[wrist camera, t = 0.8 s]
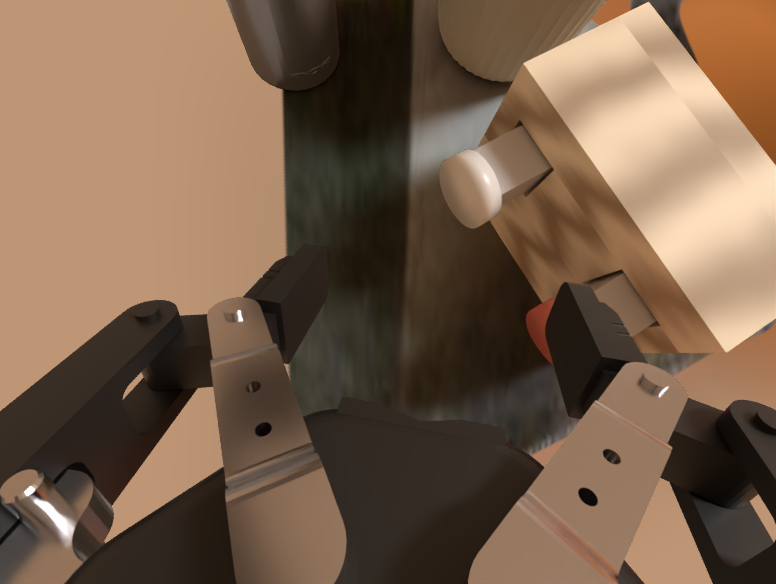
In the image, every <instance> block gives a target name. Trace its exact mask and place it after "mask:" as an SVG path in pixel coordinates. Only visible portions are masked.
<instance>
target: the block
mask: <svg viewBox="0 0 776 584" xmlns="http://www.w3.org/2000/svg"><path fill="white" fill-rule="evenodd" d="M521 125H524V126H525V128H526V129H527V131H528V132H529V134H530V135H531V137H532V138H533V140H534V141H535V143H536V144H537V145H538V147H539V148H540V150H541V151H542V153H543V154H544V156H545V157H546V159H547V160H548V162H549V163H550V165H551V166H552V167H553V169H554V171H553V172H551V173H550V174H549V175H548V176H547V177H546V178H545V179H544V180H543V181H542V182H541V183H540V184H539V185H538V186H536V187H535V188H533V189H531V190H529V191H527V192H526V193H524V194H522V195H520V196H518V197H517V198H515V199H513V200H511V201H509V202H507V203H506V204H504V205H502V206H501V210H500V212H499V214H498V215H497V216H496V217H495V218H493V219H491V220H490V222H491V224H492V225H493V227H494V228H495V230H496V232H497V233H498V235H499V236H500V238H501V239H502V241H503V242H504V244H505V246H506V247H507V249H508V250H509V252H510V253H511V255H512V256H513V258H514V260H515V261H516V263H517V264H518V266H519V267H520V269H521V270H522V272H523V274H524V275H525V277H526V278H527V280H528V281H529V283H530V284H531V286H532V288H533V289H534V291H535V292H536V294H537V295H538V297H539V298H540V300H541V302H542V303H543V302H545V301H546V300H548V299H550V298H556V296H557V293H558V291H559V289H560V286H561V285H562V284H563V283H564V282H570V283H577V284H584V285H588V284H589V283H591V282H593V281H594V280H596V279H598V278H599V277H601V276H603V275H606V274H609V273H612V272H615V271H618V270H621V269H622V270H623V271H624V273H625V274H626V276H627V277H628V279H629V280H630V282H631V283H632V285H633V286H634V288H635V289H636V291H637V292H638V293H639V295H640V296H641V298H642V299H643V301H644V302H645V304H646V305H647V307H648V308H649V310H650V311H651V312H652V314H653V315H654V317H655V318H656V320H657V321H656V322H654V323H653V324H651V325H650V326H648V327H647V328H645V329H644V330H642V331H641V332H639V333H638V334H636V335H634V336H633V337H632V338H633V340H634V342H635V343H636V345H637V347H638V348H639V350H640V352H641V353H726V352H728V351H730V350H731V349H732V348H734V347H735V346H737V345H738V344H740V343H741V342H742V341H744V340H745V339H747V338H748V337H750V336H751V335H752V334H754V333H755V332H757V331H758V330H760V329H761V328H762V327H764V326H765V325H767V324H768V323H770V322H771V321H772V320H774V319H775V318H776V166H775V164H774V163H773V162H772V160H771V159H770V158H769V157H768V155H767V154H766V153H765V151H764V150H763V149H762V148H761V146H760V145H759V144H758V142H757V141H756V140H755V138H754V137H753V136H752V135H751V133H750V132H749V131H748V129H747V128H746V127H745V126H744V124H743V123H742V122H741V121H740V119H739V118H738V117H737V115H736V114H735V113H734V112H733V110H732V109H731V108H730V106H729V105H728V104H727V102H726V101H725V100H724V99H723V97H722V96H721V95H720V93H719V92H718V91H717V89H716V88H715V87H714V86H713V84H712V83H711V82H710V80H709V79H708V78H707V77H706V75H705V74H704V73H703V72H702V70H701V69H700V68H699V66H698V65H697V64H696V62H695V61H694V60H693V58H692V57H691V56H690V55H689V53H688V52H687V51H686V49H685V48H684V47H683V46H682V44H681V43H680V42H679V40H678V39H677V38H676V37H675V35H674V34H673V33H672V31H671V30H670V29H669V28H668V26H667V25H666V24H665V22H664V21H663V20H662V18H661V17H660V16H659V15H658V13H657V12H656V11H655V9H654V8H653V7H652V6H651V4H650V3H649V2H648V3H645V4H643V5H641V6H639V7H637V8H635V9H633V10H631V11H629V12H627V13H625V14H623V15H621V16H619V17H617V18H615V19H613V20H611V21H609V22H607V23H605V24H602V25H600V26H598V27H596V28H594V29H592V30H590V31H588V32H586V33H584V34H582V35H580V36H578V37H576V38H574V39H572V40H570V41H568V42H566V43H564V44H562V45H559V46H557V47H555V48H553V49H551V50H549V51H547V52H545V53H543V54H541V55H539V56H537V57H535V58H533V59H531V60H529V61H527V62H525V63H523V65H522V66H521V68H520V70H519V72H518V74H517V76H516V77H515V79H514V81H513V83H512V85H511V87H510V89H509V90H508V92H507V94H506V96H505V98H504V100H503V101H502V103H501V105H500V107H499V109H498V111H497V113H496V114H495V116H494V118H493V120H492V122H491V124H490V125H489V127H488V129H487V131H486V133H485V135H484V136H483V138H482V140H481V142H480V144H479V146H478V148H479V147H480V146H482V145H484V144H486V143H488V142H490V141H492V140H494V139H496V138H498V137H500V136H502V135H504V134H506V133H507V132H509V131H511V130H513V129H515V128H517V127H519V126H521Z"/></svg>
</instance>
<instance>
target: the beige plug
mask: <svg viewBox="0 0 776 584" xmlns="http://www.w3.org/2000/svg"><path fill="white" fill-rule="evenodd" d="M553 171H554V169H553V167H552V166H551V165H550V163H549V162H548V160H547V159H546V157H545V156H544V154H543V153H542V151H541V150H540V148H539V147H538V145H537V144H536V143H535V141H534V140H533V138H532V137H531V135H530V134H529V132H528V131H527V129H526V128H525V126H524V125H521V126H519V127H517V128H515V129H513V130H511V131H509V132H507V133H506V134H504V135H502V136H500V137H498V138H496V139H494V140H492V141H490V142H488V143H486V144H484V145H482V146H480V147H479V148H477V149H475V150H464V151H462V152H460V153H458V154H456V155H454V156H452V157H450V158H448V159H446V160H445V161H443V162H442V163H441V165H440V168H439V182H440V187H441V190H442V193H443V196H444V198H445V201H446V203H447V205H448V207H449V208H450V210H451V211H452V213H453V214H454V216H455V217H456V218H457V219H458V220H459V221H460V222H461V223H462V224H463V225H465V226H466V227H468V228H472V229H474V228H477V227H479V226H481V225H482V224H484V223H486V222H488V221H490V220H491V219H493V218H495V217H496V216H497V215H498V214H499V212H500V210H501V206H502V205H504V204H506V203H507V202H509V201H511V200H513V199H515V198H517V197H518V196H520V195H522V194H524V193H526V192H527V191H529V190H531V189H533V188H535V187H536V186H538V185H539V184H540V183H541V182H542V181H543V180H544V179H545V178H546V177H547V176H548V175H549V174H550V173H551V172H553Z"/></svg>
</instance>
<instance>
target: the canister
mask: <svg viewBox="0 0 776 584" xmlns="http://www.w3.org/2000/svg"><path fill="white" fill-rule="evenodd" d="M605 2H606V0H438V7H437V15H438V22H439V30H440V33H441V35H442V40H443V42H444V44H445V45H446V47H447V50H448V52H449V53H451V55H452V57H453V59H454V60H456V61H457V62H458V63H459V65H460V66H463V67H464V68H465V69H466V70H467V71H469V72H471V73H473V74H474V75H475V76H480V77H482V78H483V79H489V80H491V81H500V82H505V81H509V82H513V81H514V79H515V77H516V76H517V74H518V72H519V70H520V68H521V66H522V65H523V63H525V62H527V61H529V60H531V59H533V58H535V57H537V56H539V55H541V54H543V53H545V52H547V51H549V50H551V49H553V48H555V47H557V46H559V45H562V44H564V43H566V42H568V41H570V40H572V39H574V38H575V37H576V36H577V35H578V34H579V33H580V31H581V30H582V29H583V28H584V27H585V26H586V24H587V23H588V22H589V21H590V20H591V19H592V17H593V16H594V15H595V14H596V13H597V11H598V10H599V9H600V8H601V7H602V5H603V4H604V3H605Z"/></svg>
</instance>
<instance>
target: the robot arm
mask: <svg viewBox="0 0 776 584" xmlns="http://www.w3.org/2000/svg"><path fill="white" fill-rule="evenodd" d="M226 1H227V3H228V6H229V8H230V11H231V13H232V16H233V19H234V21H235V23H236V26H237V29H238V32H239V34H240V37H241V39H242V42H243V44H244V47H245V49H246V52H247V55H248V57H249V60H250V62H251V65H252V66H253V68H254V70H255V71H256V73H257V74H258V75H259V76H260V77H261V78H262V79H263V80H264V81H266V82H267V83H269V84H270V85H272V86H275V87H277V88H280V89H284V90H293V91H299V90H306V89H310V88H312V87H315V86H317V85H319V84H321V83H323V82H324V81H325V80H326V79H327V78H329V77H330V76H331V74H332V73H333V72H334V70H335V69H336V66H337V64H338V61H339V54H340V50H339V38H338V26H337V12H336V0H226ZM327 293H328V260H327V250H326V248H325V247H321V246H314V245H307V244H304V245H303V246H302V247H301V248H300V249H299V250H298V251H297V252H296V254H295V255H294V256H286V257H284V258H282V259H280V260H278V261H276V262H275V263H274V264H273V265H272V266H271V268H270V269H269V271H267V272H266V273H265V274H264V275H263V277H262V278H260V279H259V280H258V281H257V283H256V284H255V285H254V286H253V287H252V288H251V289H250V290H249V291H248V292H247V293H246V294H245V296H243V297H239V298H231V299H227V300H224V301H221V302H219V303H217V304H216V305H214V306H213V307H212V308H211V309H210V310H209V311H208V314H204V315H185V316H180V315H179V312H178V309H177V306H176V305H175V304H174V303H172V302H170V301H165V300H154V301H148V302H143V303H140V304H138V305H135V306H133V307H131V308H129V309H127V310H126V311H125V312H123V313H122V314H121V315H119V316H118V317H117V318H116V319H114V320H113V321H112V322H111V323H110V324H108V325H107V326H106V327H104V328H103V329H102V330H101V331H99V333H97V334H96V335H95V336H93V337H92V338H91V339H90V340H88V341H87V342H86V343H85V344H84V345H82V346H81V347H80V348H78V349H77V350H76V351H75V352H73V353H72V354H71V355H70V356H68V357H67V358H66V359H65V360H63V361H62V362H61V363H60V364H58V365H57V366H56V367H55V368H53V369H52V370H51V371H50V372H48V373H47V374H46V375H45V376H43V377H42V378H41V379H40V380H39V381H37V382H36V383H35V384H34V385H32V386H31V387H30V388H29V389H27V390H26V391H25V392H24V393H22V394H21V395H20V396H19V397H17V398H16V399H15V400H14V401H13V402H11V403H10V404H9V405H7V406H6V407H5V408H4V409H2V410H1V411H0V584H644V583H643V581H642V580H641V579H640V578H639V577H638V576H637V574H636V573H635V572H634V571H633V570H632V569H631V567H630V566H629V565H628V564H627V563H626V561H625V560H624V559H625V556H626V554H627V552H628V550H629V547H630V545H631V543H632V541H633V538H634V536H635V534H636V531H637V529H638V527H639V525H640V522H641V520H642V518H643V515H644V513H645V511H646V509H647V506H648V504H649V502H650V499H651V497H652V495H653V493H654V490H655V488H656V486H657V483H658V481H659V479H660V478H662V479H664V480H667V481H669V482H670V484H671V486H672V489H673V491H674V493H675V496H676V498H677V501H678V503H679V505H680V508H681V510H682V512H683V514H684V517H685V519H686V522H687V524H688V526H689V528H690V531H691V533H692V536H693V538H694V540H695V543H696V545H697V548H698V550H699V552H700V554H701V557H702V559H703V561H704V564H705V566H706V568H707V571H708V573H709V575H710V578H711V580H712V583H713V584H776V540H775V542H773V541H772V539H771V537H770V535H769V534H768V532H767V530H766V529H765V527H764V525H763V524H762V522H761V520H760V518H759V517H758V515H757V513H756V512H755V510H754V508H753V507H752V505H751V503H750V500H751V499H753V498H754V497H755V496H756V495H758V494H759V495H760V497H761V499H762V500H763V502H764V503H765V505H766V507H767V508H768V510H769V511H770V513H771V515H772V517H773V518H774V520H775V523H776V410H774V409H772V408H770V407H767V406H765V405H762V404H760V403H757V402H753V401H748V400H737V401H734V402H732V404H731V405H730V406H729V407H728V408H727V409H726V410H725V411H722V410H719V409H716V408H714V407H711V406H708V405H706V404H703V403H700V402H698V401H695V400H692V399H690V398H688V395H687V392H686V390H685V388H684V387H683V386H682V384H681V383H680V382H679V381H678V380H677V379H676V378H674V377H673V376H672V375H670V374H669V373H667V372H665V371H664V370H662V369H660V368H658V367H655V366H653V365H650V364H648V363H647V361H646V360H645V358H644V356H643V355H642V353H641V352H640V350H639V348H638V347H637V345H636V343H635V342H634V340H633V338H632V337H631V336H629V335H630V333H629V332H628V330H627V328H626V327H624V323H623V322H622V320H621V319H620V317H619V315H618V314H617V313H616V312H615V311H614V310H613V309H612V308H610V307H609V306H608V305H607V304H606V303H603V302H599V300H598V298H597V296H596V295H595V293H594V291H593V289H592V288H591V286H589V285H584V284H577V283H570V282H564V283H563V284H562V285H561V286H560V289H559V291H558V293H557V296H556V298H555V301H554V303H553V306H552V308H551V311H550V313H549V316H548V318H547V321H546V326H545V338H546V341H547V345H548V348H549V351H550V355H551V358H552V362H553V365H554V368H555V372H556V375H557V379H558V382H559V385H560V389H561V392H562V396H563V399H564V403H565V406H566V409H567V413H568V416H569V417H573V418H578V419H581V420H580V421H579V423H578V424H577V425H576V427H575V428H574V429H573V431H572V432H571V433H570V435H569V436H568V437H567V439H566V440H565V441H564V443H563V444H562V445H561V447H560V448H559V449H558V451H557V452H556V453H555V455H554V456H553V457H552V459H551V460H550V461H549V463H548V464H547V465H546V467H545V468H544V467H543V466H542V465H541V464H540V463H539V462H538V461H536V460H535V459H534V458H533V457H531V456H530V455H528V454H527V453H526V452H524V451H523V450H521V449H519V448H517V447H515V446H514V445H512V444H510V443H507V442H506V434H505V428H502V427H497V426H492V425H487V424H481V423H476V422H471V421H466V420H449V421H419V420H416V419H413V418H411V417H409V416H407V415H404V414H402V413H400V412H397V411H395V410H393V409H390V408H388V407H386V406H384V405H381V404H377V403H372V402H367V401H361V400H356V399H351V398H346V397H342V398H341V401H340V404H339V407H338V409H330V410H323V411H319V412H315V413H312V414H309V415H306V416H302V413H301V411H300V408H299V405H298V402H297V399H296V396H295V394H294V391H293V388H292V385H291V382H290V380H289V377H288V374H287V371H286V368H285V366H284V363H285V364H289V363H290V361H291V359H292V357H293V356H294V354H295V352H296V351H297V349H298V347H299V345H300V344H301V342H302V340H303V338H304V337H305V335H306V333H307V332H308V330H309V328H310V326H311V325H312V323H313V321H314V319H315V318H316V316H317V314H318V313H319V311H320V309H321V307H322V306H323V304H324V302H325V300H326V297H327ZM141 372H142V374H143V377H144V378H143V379H142V380H141V381H140V382H139V383H138V384H137V385H136V386H135V388H134V389H133V390H132V391H131V392H130V393H129V394H128V395H127V396H126V397H125V398H124V399H123V394H124V392H125V390H126V388H127V387H128V385H129V384H130V383H131V382H132V381H133V380H134V379H135V378H136V377H137V375H139V374H140V373H141ZM202 387H213V388H214V394H215V403H216V410H217V418H218V426H219V434H220V442H221V449H222V456H223V465H224V467H222V468H221V469H219V470H218V471H216V472H214V473H213V474H211V475H210V476H208V477H207V478H205V479H204V480H202V481H200V482H199V483H197V484H196V485H194V486H193V487H191V488H190V489H188V490H187V491H185V492H183V493H182V494H180V495H179V496H177V497H176V498H174V499H173V500H171V501H169V502H168V503H166V504H165V505H164V506H162V507H160V508H159V509H157V510H156V511H154V512H153V513H151V514H149V515H148V516H146V517H145V518H143V519H142V520H140V521H139V522H137V523H135V524H134V525H132V526H131V527H129V528H128V529H126V530H125V531H123V532H122V533H120V534H119V535H117V536H116V537H114V538H113V539H111V540H110V541H109V542H107V543H105V542H104V540H105V539H106V537H107V535H108V533H109V531H110V529H111V526H112V523H113V519H114V513H113V508H112V505H113V503H114V502H115V500H116V499H117V498H118V497H119V495H120V494H121V492H122V491H123V490H124V488H125V487H126V486H127V484H128V482H129V481H130V480H131V479H132V477H133V476H134V475H135V473H136V472H137V470H138V469H139V468H140V466H141V465H142V464H143V462H144V461H145V459H146V458H147V457H148V455H149V454H150V453H151V451H152V450H153V449H154V447H155V446H156V444H157V443H158V442H159V440H160V439H161V438H162V436H163V435H164V434H165V432H166V431H167V429H168V428H169V427H170V425H171V424H172V423H173V421H174V420H175V419H176V417H177V416H178V414H179V413H180V412H181V410H182V409H183V407H184V406H185V405H186V403H187V402H188V401H189V399H190V398H191V397H192V395H193V394H194V392H195V391H196V390H197V388H202ZM122 399H123V400H122Z"/></svg>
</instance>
